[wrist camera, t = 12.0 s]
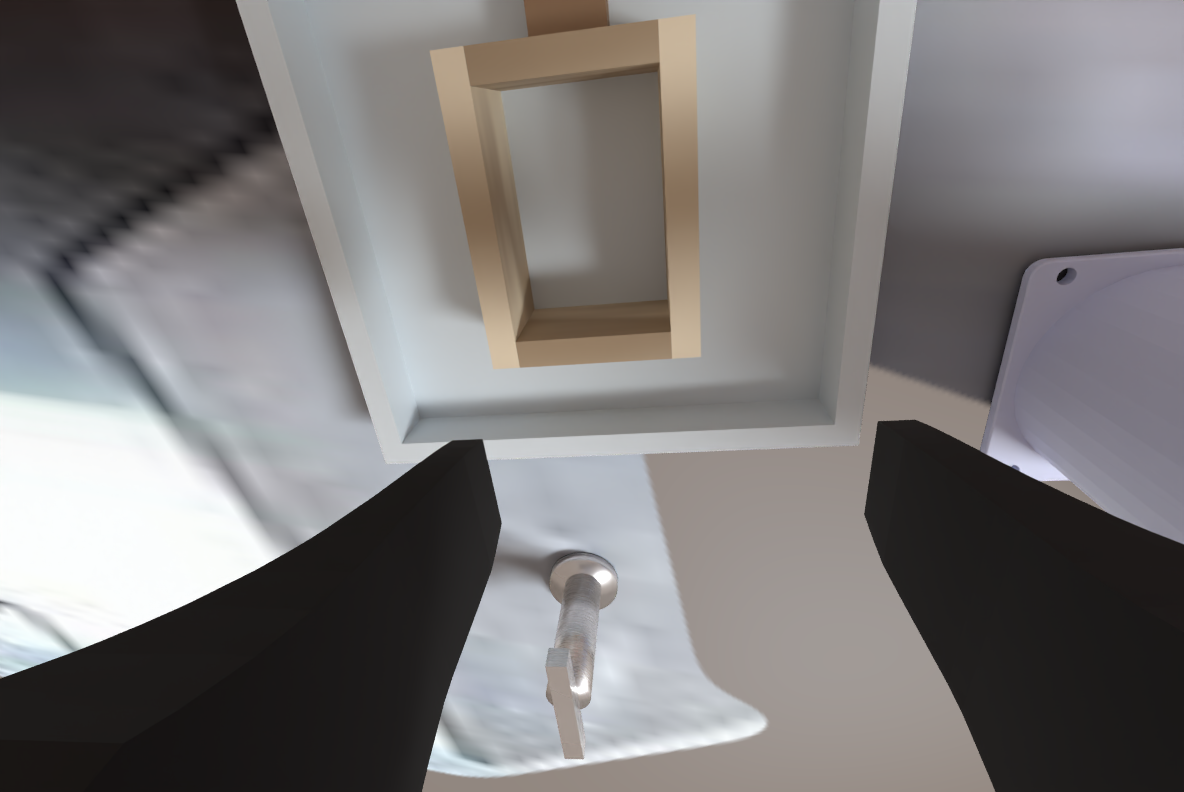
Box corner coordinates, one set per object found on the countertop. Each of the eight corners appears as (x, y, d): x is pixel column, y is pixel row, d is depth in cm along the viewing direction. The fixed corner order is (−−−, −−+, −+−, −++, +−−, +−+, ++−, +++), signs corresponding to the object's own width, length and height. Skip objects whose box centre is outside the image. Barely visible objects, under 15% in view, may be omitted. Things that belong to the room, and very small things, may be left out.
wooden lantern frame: (693, 321, 18) (700, 357, 15) (515, 333, 19) (493, 369, 16) (685, -43, 14) (693, -82, 11) (455, -9, 14) (412, -37, 12)
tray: (900, -206, 13) (952, -272, 10) (835, 409, 20) (858, 445, 18) (261, -91, 15) (195, -126, 12) (411, 429, 22) (386, 463, 20)
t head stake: (613, 534, 23) (601, 667, 18) (622, 618, 25) (615, 760, 20) (543, 535, 24) (511, 666, 18) (558, 618, 26) (533, 757, 20)
